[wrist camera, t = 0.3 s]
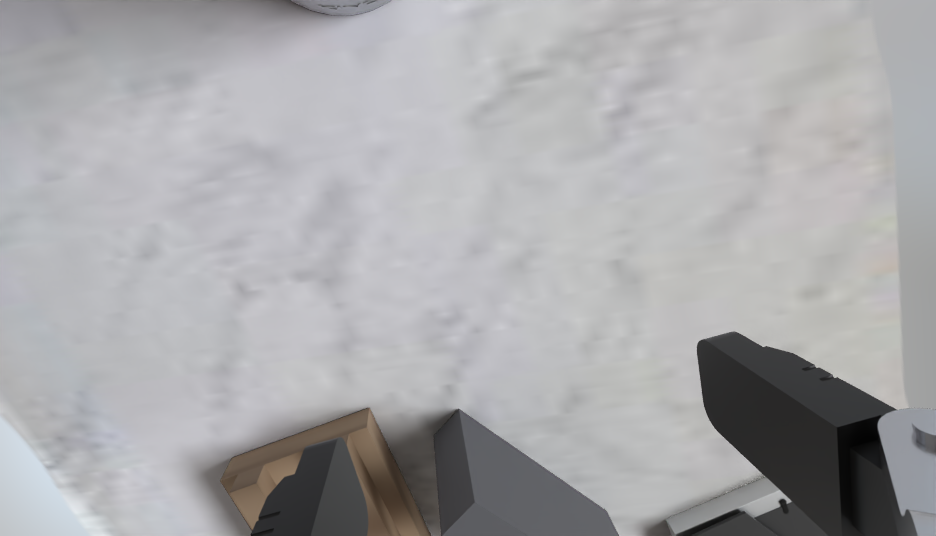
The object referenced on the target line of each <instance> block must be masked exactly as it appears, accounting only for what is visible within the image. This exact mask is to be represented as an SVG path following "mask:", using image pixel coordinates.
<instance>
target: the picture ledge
mask: <svg viewBox="0 0 936 536" xmlns="http://www.w3.org/2000/svg"><path fill="white" fill-rule="evenodd" d="M338 437H341V438H343V439H344V441H345V443H346V445H347V447H348V450H349V453H350V456H351V459H352V462H353V465H354V467H355V470H356V473H357V476H358V479H359V482H360V485H361V487H362V490H363V493H364V496H365V500H366V504H367V510H368V533H367V536H431V534H430V532H429V530H428V528H427V526H426V524H425V522H424V520H423V518H422V516H421V514H420V512H419V510H418V507H417V505H416V503H415V501H414V499H413V497H412V495H411V493H410V491H409V489H408V487H407V485H406V483H405V480H404V478H403V476H402V474H401V472H400V470H399V468H398V466H397V464H396V462H395V460H394V458H393V456H392V453H391V451H390V449H389V447H388V445H387V443H386V441H385V439H384V437H383V435H382V433H381V431H380V429H379V426H378V424H377V422H376V420H375V418H374V416H373V414H372V412H371V410H370V408H367V409H364V410H361V411H359V412H356V413H353V414H351V415H348V416H345V417H342V418H340V419H337V420H334V421H331V422H329V423H326V424H323V425H320V426H318V427H315V428H312V429H310V430H307V431H304V432H301V433H299V434H296V435H293V436H290V437H288V438H285V439H282V440H279V441H277V442H274V443H271V444H269V445H266V446H263V447H260V448H258V449H255V450H252V451H249V452H247V453H244V454H241V455H238V456H236V457H233V458H232V459H231V461H230V463H229V465H228V467H227V468H226V470H225V472H224V474H223V476H222V478H221V480H220V482H221V483H222V485H223V486H224V488H225V489H226V491H227V493H228V494H229V496H230V497H231V499H232V500H233V502H234V503H235V505H236V507H237V508H238V510H239V511H240V513H241V514H242V516H243V517H244V519H245V521H246V522H247V524H248V525H249V527H250V528H251V530H253V528H254V526H255V524H256V521H259V518H258V517H259V514H260V512H261V510H262V507H263V505H264V503H265V500H266V498H267V496H268V495H269V494H270V493H271V492H272V491H273V489H274V488H275V487H276V486H277V485H278V484H279V482H280V481H281V480H282V479H283V478H284V477H286V476H289V475H293V474H295V472H296V469H297V466H298V464H299V461H300V458H301V456H302V453H303V451H304V448H305V447H306V446H309V445H312V444H316V443H320V442H323V441H327V440H331V439H334V438H338Z"/></svg>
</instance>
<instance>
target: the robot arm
mask: <svg viewBox="0 0 936 536" xmlns="http://www.w3.org/2000/svg"><path fill="white" fill-rule="evenodd" d="M290 1H292V2H294V3H297V4H299V5H301V6H303V7H305V8H307V9H309V10H312V11H316V12H320V13H325V14H329V15H355V14H360V13H364V12H368V11H372V10H374V9H376V8H378V7H380V6H382V5H384V4H386V3H388V2H390V1H391V0H290ZM697 356H698V364H699V372H700V380H701V387H702V395H703V403H704V407H705V410H706V413H707V415H708V418H709V420H710V421H711V423H712V425H713V426H714V428H715V429H716V430H717V431H718V432H719V433H720V434H721V435H722V436H723V437H724V438H725V439H726V440H727V441H728V442H729V443H730V444H732V445H733V446H734V447H735V448H736V449H737V450H738V451H739V452H740V453H741V454H742V455H743V456H744V457H745V458H746V459H747V460H749V461H750V462H751V463H752V464H753V465H754V466H755V467H756V468H757V469H758V470H759V471H760V472H761V473H762V474H763V475H764V476H766V477H767V478H768V479H769V480H770V481H771V482H772V483H773V484H774V485H775V486H776V487H777V488H778V489H779V490H780V491H781V492H782V493H784V494H785V495H786V496H787V497H788V498H789V499H790V500H791V501H792V502H793V503H794V504H795V505H796V506H797V507H798V508H799V509H801V510H802V511H803V512H804V513H805V514H806V515H807V516H808V517H809V518H810V519H811V520H812V521H813V522H814V523H815V524H816V525H818V526H819V527H820V528H821V529H822V530H823V531H824V532H825V533H826V534H827V535H828V536H936V409H928V408H907V409H899V410H896V409H895V408H893V407H891V406H889V405H887V404H885V403H884V402H882V401H880V400H878V399H876V398H874V397H872V396H871V395H869V394H867V393H865V392H863V391H861V390H860V389H858V388H856V387H854V386H852V385H850V384H849V383H847V382H845V381H843V380H841V379H839V378H838V377H837V378H834V377H833V375H832V374H830V373H828V372H827V371H825V370H823V369H821V368H816V367H815V365H814V364H812V363H810V362H808V361H806V360H805V359H803V358H801V357H799V356H797V355H795V354H793V353H790V352H786V351H782V350H779V349H775V348H771V347H767V346H766V347H762V346H760V345H759V344H757V343H755V342H753V341H752V340H750V339H748V338H746V337H745V336H743V335H741V334H739V333H737V332H729V333H726V334H722V335H718V336H714V337H711V338H707V339H703V340H701V341H699V342H698V345H697ZM258 518H259V521H256V524H255V526H254V528H253V530H252V533H251V536H367V533H368V510H367V504H366V500H365V496H364V493H363V490H362V487H361V485H360V482H359V479H358V476H357V473H356V470H355V467H354V465H353V462H352V459H351V456H350V453H349V450H348V447H347V445H346V443H345V441H344V439H343V438H341V437H338V438H334V439H331V440H327V441H323V442H320V443H316V444H312V445H309V446H306V447H305V448H304V451H303V453H302V456H301V458H300V461H299V464H298V466H297V469H296V472H295V474H293V475H289V476H286V477H284V478H283V479H282V480H281V481H280V482H279V484H278V485H277V486H276V487H275V488H274V489H273V491H272V492H271V493H270V494H269V495H268V496H267V498H266V500H265V503H264V505H263V507H262V510H261V512H260V514H259V517H258Z"/></svg>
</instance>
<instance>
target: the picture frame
mask: <svg viewBox="0 0 936 536" xmlns="http://www.w3.org/2000/svg"><path fill="white" fill-rule="evenodd" d="M666 522H667V525H668V527H669V530H670V533H671V536H828V535H827V534H826V533H825V532H824V531H823V530H822V529H821V528H820V527H819V526H818V525H816V524H815V523H814V522H813V521H812V520H811V519H810V518H809V517H808V516H807V515H806V514H805V513H804V512H803V511H802V510H801V509H799V508H798V507H797V506H796V505H795V504H794V503H793V502H792V501H791V500H790V499H789V498H788V497H787V496H786V495H785V494H784V493H782V492H781V491H780V490H779V489H778V488H777V487H776V486H775V485H774V484H773V483H772V482H771V481H770V480H769V479H768V478H767V477H764V478H761V479H759V480H757V481H754V482H752V483H750V484H747V485H745V486H743V487H740V488H738V489H736V490H733V491H731V492H728V493H726V494H724V495H721V496H719V497H717V498H714V499H712V500H710V501H707V502H705V503H703V504H700V505H698V506H696V507H693V508H691V509H689V510H686V511H684V512H681V513H679V514H677V515H674V516H672V517H670V518H667V519H666Z"/></svg>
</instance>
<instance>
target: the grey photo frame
mask: <svg viewBox="0 0 936 536" xmlns="http://www.w3.org/2000/svg"><path fill="white" fill-rule="evenodd" d="M434 448H435V461H436V474H437V487H438V499H439V512H440V525H441V536H619V535H618V533H617V531H616V529H615V527H614V525H613V523H612V521H611V519H610V517H609V515H608V513H607V511H606V510H605V509H603V508H602V507H600V506H599V505H597V504H596V503H594V502H593V501H592V500H590V499H589V498H587V497H586V496H584V495H583V494H581V493H580V492H579V491H577V490H576V489H574V488H573V487H571V486H570V485H568V484H567V483H565V482H564V481H563V480H561V479H560V478H558V477H557V476H555V475H554V474H552V473H551V472H550V471H548V470H547V469H545V468H544V467H542V466H541V465H539V464H538V463H537V462H535V461H534V460H532V459H531V458H529V457H528V456H526V455H525V454H524V453H522V452H521V451H519V450H518V449H516V448H515V447H513V446H512V445H511V444H509V443H508V442H506V441H505V440H503V439H502V438H500V437H499V436H498V435H496V434H495V433H493V432H492V431H490V430H489V429H487V428H486V427H485V426H483V425H482V424H480V423H479V422H477V421H476V420H474V419H473V418H471V417H470V416H469V415H467V414H466V413H464V412H463V411H461V410H460V409H458V410H457V411H456V412H455V414H454V415H453V416H452V417H451V418H450V419H449V420H448V421H447V422H446V423H445V424H444V425H443V426H442V427H441V429H440V430H439V431H438V432H437V433H436V434H435V435H434Z"/></svg>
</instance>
